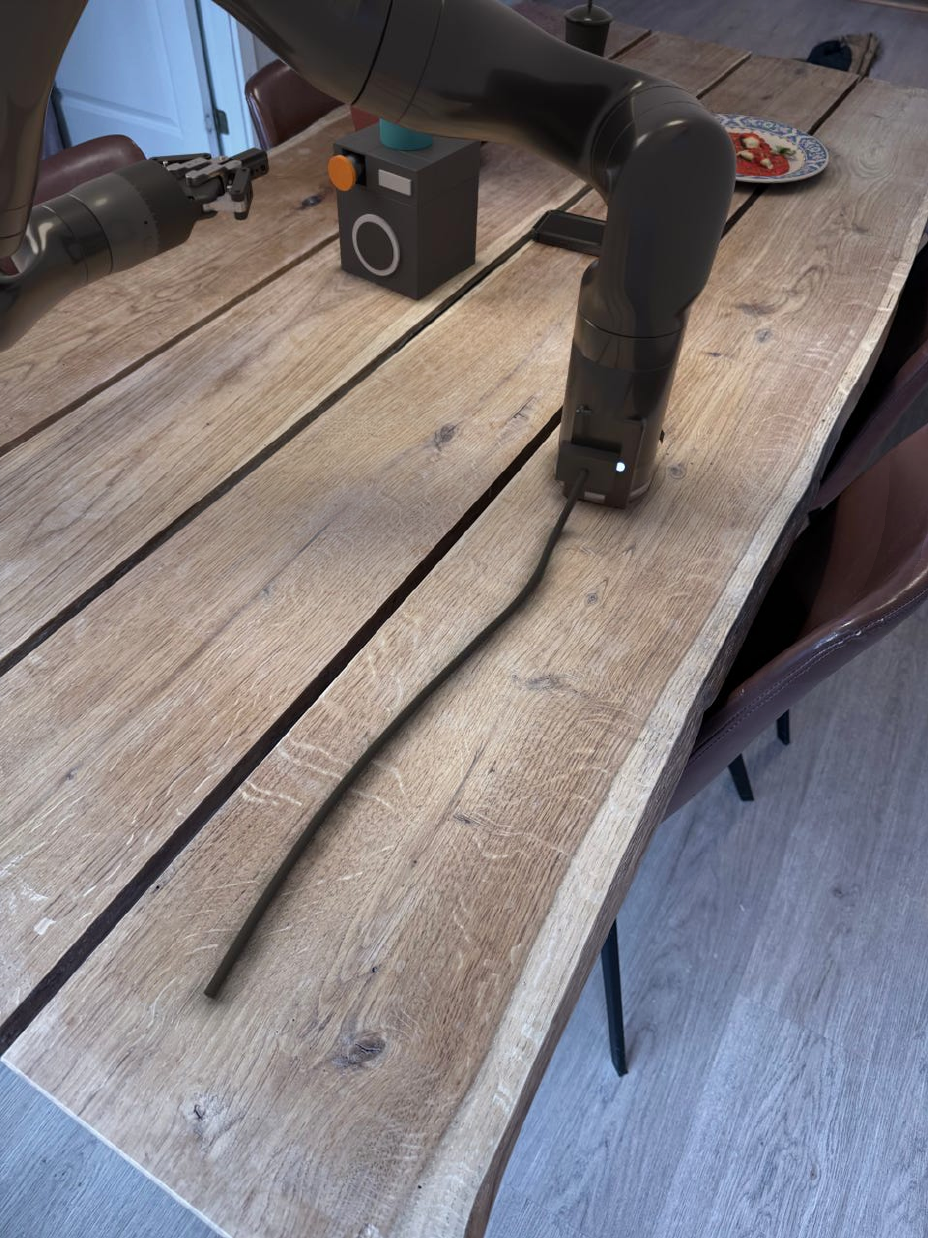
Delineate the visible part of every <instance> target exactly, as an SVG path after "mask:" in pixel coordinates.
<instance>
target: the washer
mask: <svg viewBox="0 0 928 1238" xmlns="http://www.w3.org/2000/svg"><path fill="white" fill-rule="evenodd" d="M481 145H482V142H481V141H478V140H464V139H454V138H445V137H438V136H433V143H432V144H431V145H430V146H428V147H426V148H423V149H419V150H397V149H393V148H389V147H387V146H385V145H384V144H382V142H381V140H380V121H379V122H377V123H375V124H373V125H370V126H368V127H366V128H364V129H361V130H359V131H357V132H356V131H355V132H352V133H350V134H348V135H346V136H343V137H341V138H339V139H337V140H334V141H332V148H333V150H332V151H333V157H335V156H337V155H342V156H347V155H349V154H351V153H353V152H356V153H359V154H362V155H365V161H366V177H365V178H363V179H361V180H359V181H357V182H355V185H354V186H353V188H351V189H349V190H347V191H342V190H340V189H338V188H337V187H336V186H335V189H336V190H335V195H336V208H337V222H338V237H339V239H338V240H339V251H340V252H339V253H340V267H341V270H342V271H345V272H347V273H350V274H352V275H355V276H357V277H359V278H361V279H364V280H366V281H369V282H371V283H374V284H376V285H379V286H381V287H383V288H386V289H389V290H391V291H393V292H395V293H398V294H401V295H403V296H406V297H408V298H410V299H413V300H415V301H418V300H421V299H422V298H424V297H425V296H427V295H428V294H430V293H431V292H433V291H435V290H436V289H437V288H439V287H441V286H442V285H444V284H446V283H447V282H448V281H451V280H452V279H453V278H455V277H456V276H459V275H460V274H461V273H463V272H464V271H466V270H468V269H469V268H470V267H472V266H475V264H476V253H477V234H478V233H477V232H478V214H479V213H478V211H479V192H480V191H479V189H480V170H481V150H482V149H481V148H482V146H481Z"/></svg>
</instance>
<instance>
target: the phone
mask: <svg viewBox="0 0 928 1238" xmlns="http://www.w3.org/2000/svg"><path fill="white" fill-rule="evenodd" d="M605 223H606V220H605V219H599V218H595V217H591V216H586V215H582V214H577V213H573V212H569V211H564V210H560V209H554V208H553V209H548V210H546V211H545V212H544V214H542V216H541V217H540V218H539V219H538V220H537V221H536V222H535V223H534V225H533V226H532V227H531V229H530V232H531V233H530V239H531V240H533V241H535V242H538V243H543V244H548V245H552V246H556V247H559V248H564V249H569V250H573V251H577V252H581V253H585V254H589V255H592V256H597V257H599V256H600V251H601V246H602V240H603V235H604V229H605Z"/></svg>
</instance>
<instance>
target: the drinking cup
mask: <svg viewBox="0 0 928 1238" xmlns="http://www.w3.org/2000/svg"><path fill="white" fill-rule="evenodd" d="M593 2H594V0H587V4H580V5H576V6H575V7H572V8H570V9H567V10H565V12H564V13H563V14H564V20H565V35H564V36H565V37H564V39H565V40H564V42H565V43H567V44H569V45H571V46H574V47H576V48H579V49H581V50H583V51H586V52H589V53H592V54H594V55H597V56H600V57H603V58H604V54H605V50H606V45H607V41H608V36H609V32H610V31H609V30H610V28H611V27H610V26H611V23H612V22H613V19H614V16H613V14H612V13H610V12H608V11H607V10H606V9H604V8H603V7H600V6H598V5H595V4H593Z"/></svg>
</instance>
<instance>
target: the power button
mask: <svg viewBox="0 0 928 1238" xmlns="http://www.w3.org/2000/svg"><path fill="white" fill-rule="evenodd" d="M327 171H328V176H329V179H330V181H331V182H332V184H333V186H335V188H336V187H337V188H338V189H340V190H342V191H347V190H349V189H351V188H353V186H354V185H355V182H357V181H359V180H361V179H363V178H365V177H366V161H365V155H362V154H359V153H356V152H353V153H351V154H349V155H347V156H342V155H337V156H335V157H334V156H333V157H331V158H330V160H329V162H328V165H327Z"/></svg>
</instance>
